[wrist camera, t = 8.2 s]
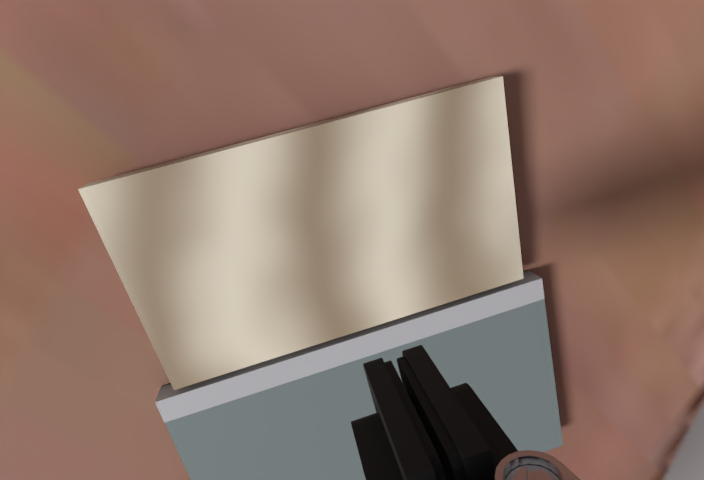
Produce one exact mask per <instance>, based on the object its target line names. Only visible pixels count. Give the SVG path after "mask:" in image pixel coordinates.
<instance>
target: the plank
mask: <svg viewBox="0 0 704 480" xmlns="http://www.w3.org/2000/svg"><path fill="white" fill-rule="evenodd" d="M78 190H79V192H80V194H81V196H82V199H83V201H84V203H85V205H86V207H87V209H88V211H89V213H90V215H91V217H92V219H93V222H94V224H95V226H96V228H97V230H98V232H99V234H100V236H101V238H102V240H103V243H104V245H105V247H106V249H107V251H108V253H109V255H110V257H111V259H112V261H113V263H114V266H115V268H116V270H117V272H118V274H119V276H120V278H121V280H122V282H123V284H124V287H125V289H126V291H127V293H128V295H129V297H130V299H131V301H132V303H133V305H134V307H135V310H136V312H137V314H138V316H139V318H140V320H141V322H142V324H143V326H144V328H145V331H146V333H147V335H148V337H149V339H150V341H151V343H152V345H153V347H154V349H155V351H156V354H157V356H158V358H159V360H160V362H161V364H162V366H163V368H164V370H165V372H166V375H167V377H168V379H169V381H170V383H171V385H172V387H173V389H174V390H176V389H180V388H183V387H186V386H189V385H192V384H195V383H198V382H201V381H205V380H208V379H211V378H214V377H217V376H220V375H223V374H227V373H230V372H233V371H236V370H239V369H242V368H245V367H248V366H252V365H255V364H258V363H261V362H264V361H267V360H270V359H274V358H277V357H280V356H283V355H286V354H289V353H292V352H295V351H299V350H302V349H305V348H308V347H311V346H314V345H317V344H320V343H324V342H327V341H330V340H333V339H336V338H339V337H342V336H346V335H349V334H352V333H355V332H358V331H361V330H364V329H367V328H371V327H374V326H377V325H380V324H383V323H386V322H389V321H393V320H396V319H399V318H402V317H405V316H408V315H411V314H414V313H418V312H421V311H424V310H427V309H430V308H433V307H436V306H439V305H443V304H446V303H449V302H452V301H455V300H458V299H461V298H465V297H468V296H471V295H474V294H477V293H480V292H483V291H486V290H490V289H493V288H496V287H499V286H502V285H505V284H508V283H512V282H515V281H518V280H521V279H524V277H523V267H522V258H521V248H520V238H519V228H518V219H517V209H516V199H515V190H514V180H513V170H512V160H511V151H510V141H509V131H508V121H507V112H506V102H505V92H504V82H503V76H495V77H487V78H483V79H479V80H475V81H472V82H468V83H464V84H460V85H456V86H453V87H449V88H445V89H441V90H438V91H434V92H430V93H426V94H423V95H419V96H415V97H411V98H407V99H404V100H400V101H396V102H392V103H389V104H385V105H381V106H377V107H374V108H370V109H366V110H362V111H359V112H355V113H351V114H347V115H343V116H340V117H336V118H332V119H328V120H325V121H321V122H317V123H313V124H310V125H306V126H302V127H298V128H294V129H291V130H287V131H283V132H279V133H276V134H272V135H268V136H264V137H261V138H257V139H253V140H249V141H245V142H242V143H238V144H234V145H230V146H227V147H223V148H219V149H215V150H212V151H208V152H204V153H200V154H196V155H193V156H189V157H185V158H181V159H178V160H174V161H170V162H166V163H163V164H159V165H155V166H151V167H148V168H144V169H140V170H136V171H132V172H129V173H125V174H121V175H117V176H114V177H110V178H106V179H102V180H99V181H95V182H91V183H88V184H86V185H85V186H83V187H81V188H79V189H78Z"/></svg>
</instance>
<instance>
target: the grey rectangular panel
mask: <svg viewBox="0 0 704 480" xmlns="http://www.w3.org/2000/svg"><path fill="white" fill-rule="evenodd" d="M523 277H524V279H521V280H518V281H515V282H512V283H508V284H505V285H502V286H499V287H496V288H493V289H490V290H486V291H483V292H480V293H477V294H474V295H471V296H468V297H465V298H461V299H458V300H455V301H452V302H449V303H446V304H443V305H439V306H436V307H433V308H430V309H427V310H424V311H421V312H418V313H414V314H411V315H408V316H405V317H402V318H399V319H396V320H393V321H389V322H386V323H383V324H380V325H377V326H374V327H371V328H367V329H364V330H361V331H358V332H355V333H352V334H349V335H346V336H342V337H339V338H336V339H333V340H330V341H327V342H324V343H320V344H317V345H314V346H311V347H308V348H305V349H302V350H299V351H295V352H292V353H289V354H286V355H283V356H280V357H277V358H274V359H270V360H267V361H264V362H261V363H258V364H255V365H252V366H248V367H245V368H242V369H239V370H236V371H233V372H230V373H227V374H223V375H220V376H217V377H214V378H211V379H208V380H205V381H201V382H198V383H195V384H192V385H189V386H186V387H183V388H180V389H176V390H174V389H173V387H172V385H171V383H170V384H167V385H164V386H161V389H160V391H159V394H158V396H157V399H156V401H155V403H156V405H157V407H158V410H159V412H160V414H161V416H162V418H163V421H164V423H165V424H166V427H167V429H168V431H169V433H170V435H171V438H172V440H173V442H174V444H175V446H176V448H177V451H178V453H179V455H180V457H181V459H182V462H183V464H184V466H185V468H186V470H187V472H188V475H189V477H190V479H191V480H366V479H365V475H364V471H363V467H362V463H361V460H360V456H359V452H358V448H357V444H356V441H355V437H354V433H353V429H352V425H351V421H354V420H357V419H360V418H363V417H366V416H369V415H371V414H374V413H376V410H375V406H374V403H373V399H372V395H371V392H370V388H369V385H368V381H367V378H366V374H365V370H364V367H363V363H366V362H369V361H373V360H376V359H379V358H382V359H383V361H384V362H387V361H390V360H391V361H392V363H393V365H394V367H395V369H396V371H397V373H398V375H399V377H400V379H401V376H400V372H399V368H398V364H397V358H399V357H402V356H403V355H402V351H403V350H406V349H409V348H413V347H416V346H419V345H422V346H423V347H424V349H425V350H426V352H427V353H428V355H429V356H430V358H431V359H432V361H433V362H434V364H435V365H436V367H437V368H438V370H439V372H440V373H441V375H442V376H443V378H444V379H445V381H446V382H447V384H448V385H449V387H450V388H451V387H454V386H457V385H460V384H463V383H467V384H469V385H470V387H471V388H472V389H473V390H474V392H475V393H476V395H477V396H478V397H479V399H480V400H481V401H482V403H483V404H484V405H485V407H486V408H487V409H488V411H489V412H490V413H491V415H492V416H493V418H494V419H495V420H496V422H497V423H498V424H499V426H500V427H501V428H502V430H503V431H504V432H505V434H506V435H507V436H508V438H509V439H510V441H511V442H512V443H513V445H514V446H515V447H516V449H517V450H518V451H523V450H533V451H540V452H546V451H549V450H551V449H554V448H557V447H560V446H562V445H563V441H562V433H561V425H560V417H559V409H558V401H557V394H556V386H555V378H554V370H553V362H552V354H551V346H550V338H549V331H548V323H547V315H546V307H545V297H544V290H543V282H542V278H541V277H539V276H537V275H536V274H534V273H532V272H531V271H529V270H526V271H523ZM401 381H402V380H401Z"/></svg>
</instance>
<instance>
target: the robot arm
mask: <svg viewBox="0 0 704 480" xmlns="http://www.w3.org/2000/svg"><path fill="white" fill-rule="evenodd" d="M402 355H403V356H402V357H399V358H397V364H398V368H399V372H400V376H401V379H400V377H399V375H398V373H397V371H396V369H395V367H394V365H393V363H392V361H391V360H390V361H387V362H384V361H383V359H382V358H379V359H376V360H373V361H369V362H366V363H363V367H364V370H365V374H366V378H367V381H368V385H369V388H370V392H371V395H372V399H373V403H374V406H375V410H376V413H374V414H371V415H369V416H366V417H363V418H360V419H357V420H354V421H351V425H352V429H353V433H354V437H355V441H356V444H357V448H358V452H359V456H360V460H361V463H362V467H363V471H364V475H365V479H366V480H580V479H579V478H578V477H577V476H576V475H575V474H574V473H573V472H571V471H570V470H569V469H568V468H567V467H566V466H565V465H564V464H563V463H562V462H560V461H559V460H557V459H556V458H554V457H553V456H551V455H548V454H546V453H543V452H540V451H533V450H523V451H518V450H517V449H516V447H515V446H514V445H513V443H512V442H511V441H510V439H509V438H508V436H507V435H506V434H505V432H504V431H503V430H502V428H501V427H500V426H499V424H498V423H497V422H496V420H495V419H494V418H493V416H492V415H491V413H490V412H489V411H488V409H487V408H486V407H485V405H484V404H483V403H482V401H481V400H480V399H479V397H478V396H477V395H476V393H475V392H474V390H473V389H472V388H471V387H470V385H469V384H467V383H463V384H460V385H457V386H454V387H451V388H450V387H449V385H448V384H447V382H446V381H445V379H444V378H443V376H442V375H441V373H440V372H439V370H438V368H437V367H436V365H435V364H434V362H433V361H432V359H431V358H430V356H429V355H428V353H427V352H426V350H425V349H424V347H423V346H422V345H419V346H416V347H413V348H409V349H406V350H403V351H402ZM401 380H402V381H401Z"/></svg>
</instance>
